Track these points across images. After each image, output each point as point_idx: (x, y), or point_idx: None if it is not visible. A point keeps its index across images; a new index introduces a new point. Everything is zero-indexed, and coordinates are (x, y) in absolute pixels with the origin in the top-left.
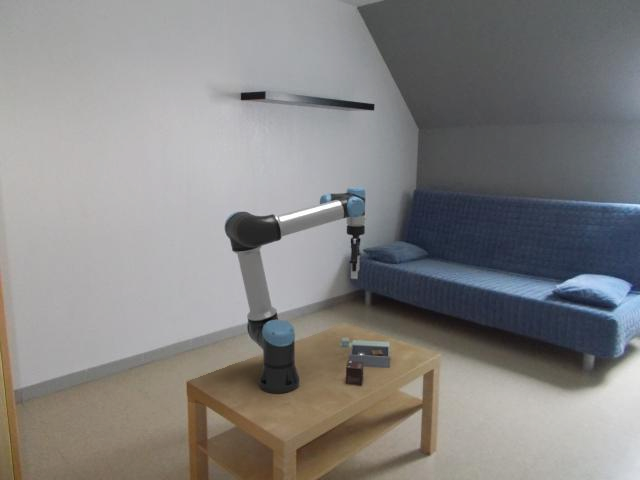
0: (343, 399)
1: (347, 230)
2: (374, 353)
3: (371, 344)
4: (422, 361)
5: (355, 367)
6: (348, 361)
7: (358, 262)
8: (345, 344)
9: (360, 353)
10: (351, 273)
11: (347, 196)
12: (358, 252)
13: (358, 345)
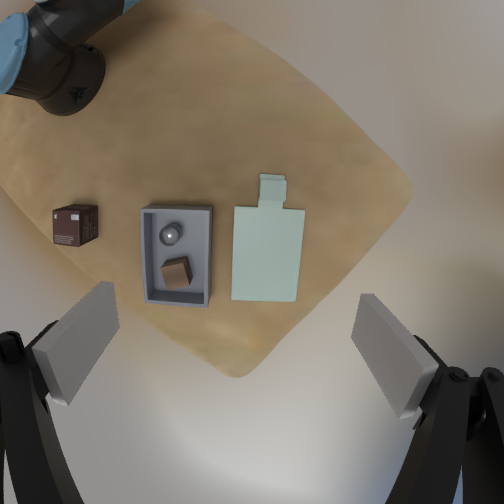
0: (35, 205)
1: None
2: (165, 269)
3: (277, 258)
4: (201, 354)
5: (54, 230)
6: (76, 212)
7: (376, 372)
8: (259, 190)
9: (167, 234)
10: (83, 303)
11: None
12: (410, 446)
13: (205, 230)
